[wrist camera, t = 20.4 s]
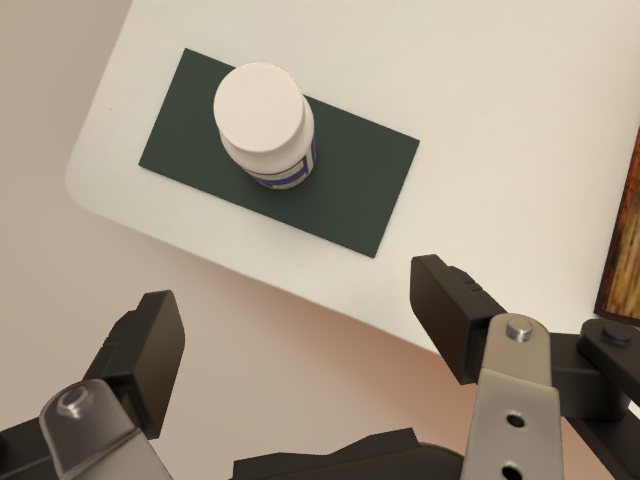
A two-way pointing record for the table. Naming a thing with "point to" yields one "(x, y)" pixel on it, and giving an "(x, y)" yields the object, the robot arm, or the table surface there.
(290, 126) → the pill bottle
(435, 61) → the table surface
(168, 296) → the robot arm
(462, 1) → the table surface
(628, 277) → the book
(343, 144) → the mat
